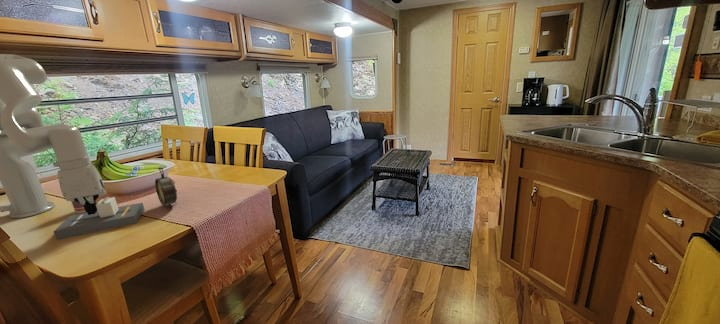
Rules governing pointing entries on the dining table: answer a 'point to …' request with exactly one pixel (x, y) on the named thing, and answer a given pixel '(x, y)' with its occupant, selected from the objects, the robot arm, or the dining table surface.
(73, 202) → the pill bottle
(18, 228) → the dining table surface
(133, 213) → the fader console
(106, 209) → the fader knob
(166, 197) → the alarm clock
